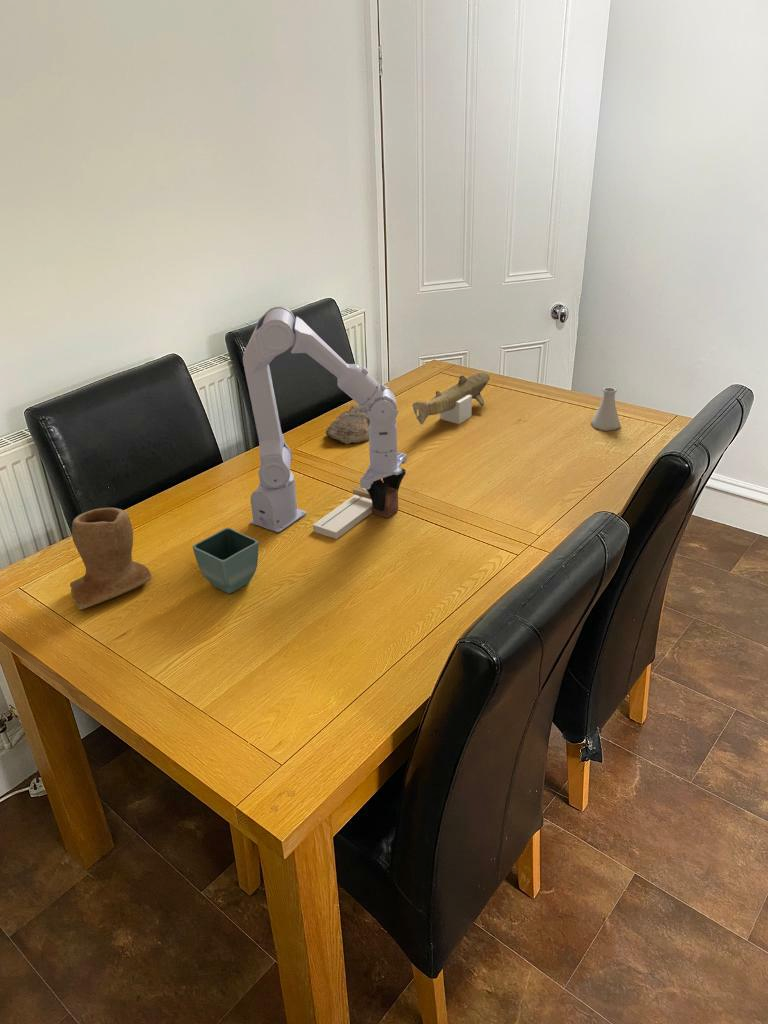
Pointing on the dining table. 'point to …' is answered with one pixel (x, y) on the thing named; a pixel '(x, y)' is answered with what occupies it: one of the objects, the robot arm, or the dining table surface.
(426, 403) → the wood carving
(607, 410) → the flask
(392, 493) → the chocolate popsicle
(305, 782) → the dining table surface
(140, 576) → the stone cup
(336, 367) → the robot arm
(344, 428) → the grey brown rock
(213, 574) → the flower pot
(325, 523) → the board
